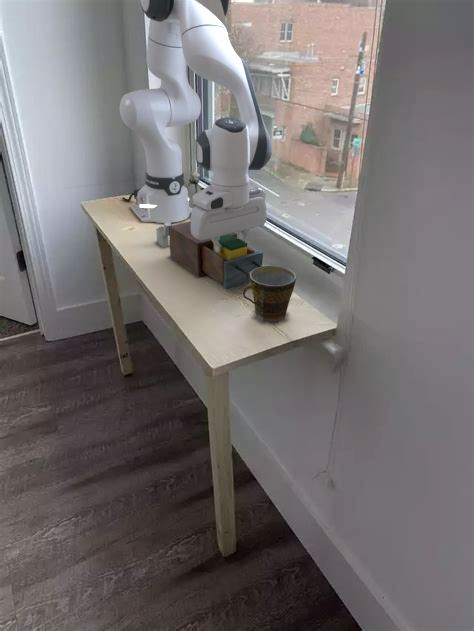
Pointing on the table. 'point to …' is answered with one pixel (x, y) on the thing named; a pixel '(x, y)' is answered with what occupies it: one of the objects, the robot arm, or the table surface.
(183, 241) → the cabinet
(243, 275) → the drawer
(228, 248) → the sponge
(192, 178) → the plant with pod
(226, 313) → the table surface
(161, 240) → the lighter
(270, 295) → the ceramic cup
